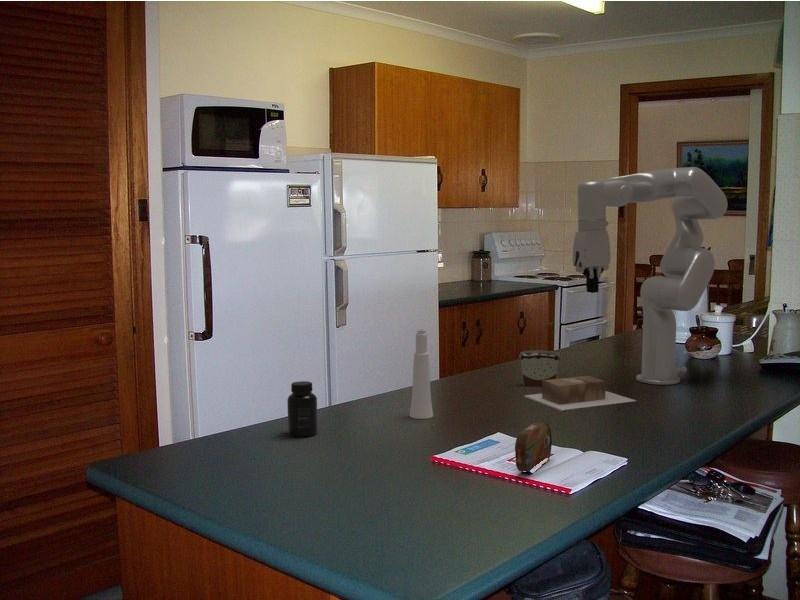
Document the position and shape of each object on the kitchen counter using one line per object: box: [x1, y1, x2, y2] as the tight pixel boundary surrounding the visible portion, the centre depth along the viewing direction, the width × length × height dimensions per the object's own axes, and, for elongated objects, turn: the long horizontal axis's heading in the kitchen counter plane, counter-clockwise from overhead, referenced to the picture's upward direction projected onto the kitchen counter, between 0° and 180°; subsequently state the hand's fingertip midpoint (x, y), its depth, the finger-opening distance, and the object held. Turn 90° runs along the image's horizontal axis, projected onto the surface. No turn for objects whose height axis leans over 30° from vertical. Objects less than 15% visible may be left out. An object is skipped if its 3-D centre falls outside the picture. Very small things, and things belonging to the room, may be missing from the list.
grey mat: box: [524, 390, 637, 412], centre depth 223 cm, size 24×18×1 cm
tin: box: [514, 422, 553, 472], centre depth 164 cm, size 15×3×8 cm, turn 150°
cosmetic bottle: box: [408, 328, 434, 420], centre depth 204 cm, size 6×6×22 cm
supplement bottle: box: [286, 380, 319, 438], centre depth 189 cm, size 7×7×12 cm
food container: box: [518, 350, 562, 387], centre depth 240 cm, size 12×6×10 cm, turn 84°
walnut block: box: [541, 375, 607, 405], centre depth 222 cm, size 5×8×15 cm
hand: (592, 291), depth 228 cm, fingers closed
